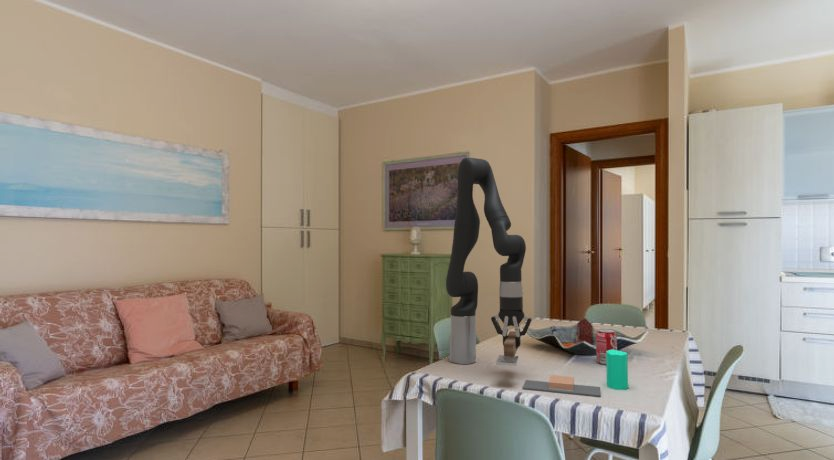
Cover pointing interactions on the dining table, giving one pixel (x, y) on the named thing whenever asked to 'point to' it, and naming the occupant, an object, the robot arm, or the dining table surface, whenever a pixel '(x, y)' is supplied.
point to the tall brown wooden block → (509, 351)
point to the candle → (617, 369)
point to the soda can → (605, 343)
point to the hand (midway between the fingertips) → (511, 347)
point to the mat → (576, 391)
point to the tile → (561, 383)
